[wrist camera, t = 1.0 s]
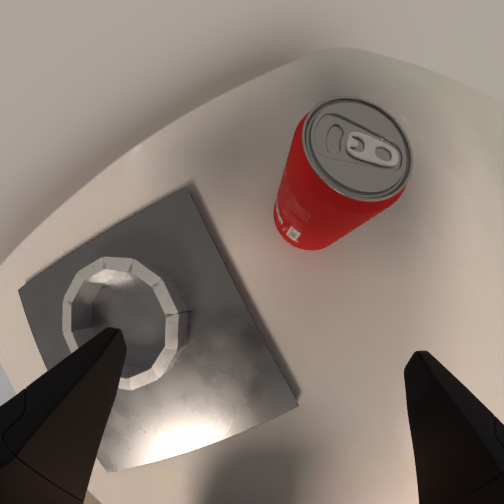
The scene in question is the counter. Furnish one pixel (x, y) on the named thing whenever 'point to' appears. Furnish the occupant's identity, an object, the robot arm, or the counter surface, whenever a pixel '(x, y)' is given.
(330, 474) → the counter surface
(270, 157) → the counter surface
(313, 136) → the beverage can
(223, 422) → the plate
